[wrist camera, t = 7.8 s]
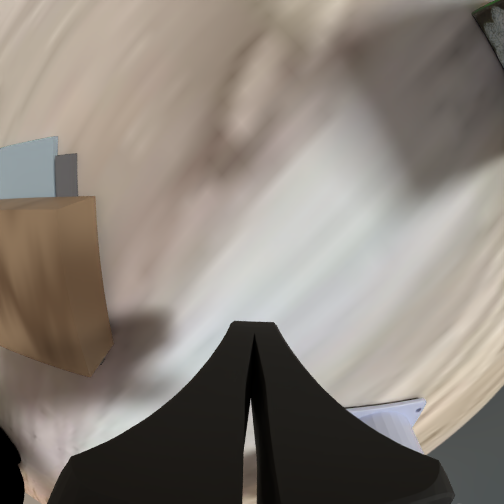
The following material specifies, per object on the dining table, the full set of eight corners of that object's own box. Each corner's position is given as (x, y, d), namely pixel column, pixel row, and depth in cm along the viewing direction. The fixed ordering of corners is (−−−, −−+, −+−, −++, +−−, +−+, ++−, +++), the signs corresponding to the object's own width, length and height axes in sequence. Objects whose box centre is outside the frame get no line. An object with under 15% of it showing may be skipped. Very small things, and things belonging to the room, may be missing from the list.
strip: (104, 359, 16) (101, 364, 15) (91, 356, 16) (87, 362, 15) (77, 153, 12) (70, 153, 11) (61, 155, 12) (55, 155, 11)
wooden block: (90, 377, 12) (-9, 342, 12) (113, 343, 15) (17, 319, 15) (56, 209, 9) (-41, 211, 9) (95, 196, 12) (-6, 199, 12)
